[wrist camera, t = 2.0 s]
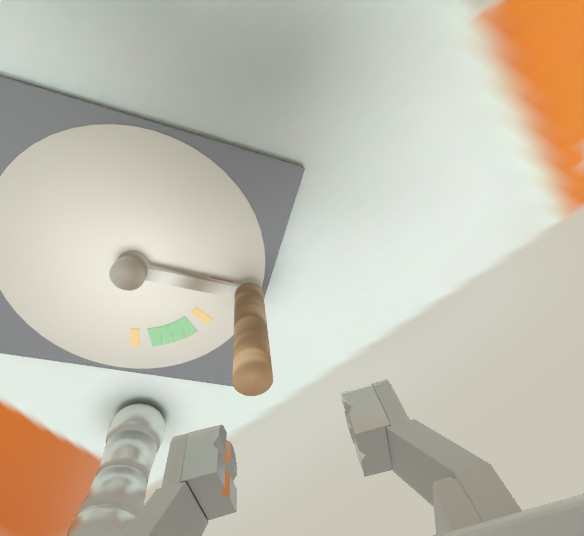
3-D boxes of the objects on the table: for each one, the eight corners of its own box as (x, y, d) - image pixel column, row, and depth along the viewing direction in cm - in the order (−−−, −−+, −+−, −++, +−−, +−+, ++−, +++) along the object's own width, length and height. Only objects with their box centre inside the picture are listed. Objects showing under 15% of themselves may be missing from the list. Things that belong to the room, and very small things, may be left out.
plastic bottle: (136, 440, 50) (78, 636, 32) (103, 409, 47) (18, 605, 29) (178, 420, 49) (142, 609, 31) (147, 387, 46) (88, 574, 28)
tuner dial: (-13, 343, 41) (-22, 352, 39) (-18, 70, 30) (-29, 69, 29) (236, 380, 47) (236, 388, 46) (302, 166, 37) (305, 168, 36)
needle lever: (114, 276, 37) (50, 369, 25) (118, 248, 36) (53, 330, 24) (258, 305, 41) (266, 399, 28) (265, 280, 40) (278, 366, 27)
